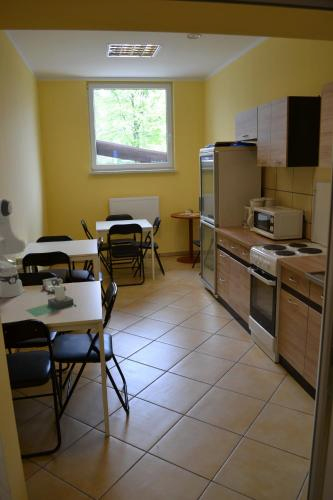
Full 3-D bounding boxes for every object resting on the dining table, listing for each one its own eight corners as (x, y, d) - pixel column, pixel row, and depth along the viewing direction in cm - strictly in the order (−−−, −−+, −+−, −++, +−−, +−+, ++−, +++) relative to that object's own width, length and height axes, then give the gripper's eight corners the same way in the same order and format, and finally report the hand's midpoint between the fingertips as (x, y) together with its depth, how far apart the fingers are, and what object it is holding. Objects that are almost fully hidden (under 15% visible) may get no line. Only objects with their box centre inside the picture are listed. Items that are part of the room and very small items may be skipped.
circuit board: (25, 311, 241) (25, 310, 240) (65, 300, 257) (65, 299, 257) (35, 318, 230) (35, 316, 229) (76, 306, 246) (76, 304, 246)
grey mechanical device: (65, 278, 274) (49, 281, 267) (67, 291, 276) (50, 295, 270) (56, 272, 288) (41, 276, 282) (58, 285, 290) (42, 289, 284)
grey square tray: (48, 304, 248) (47, 299, 247) (65, 300, 255) (64, 294, 254) (56, 309, 239) (55, 303, 239) (73, 304, 246) (73, 299, 246)
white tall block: (56, 304, 247) (53, 280, 244) (62, 302, 250) (60, 278, 247) (59, 306, 244) (56, 281, 241) (65, 304, 247) (63, 279, 243)
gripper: (-1, 267, 215) (24, 262, 224) (-13, 261, 230) (11, 256, 239) (1, 278, 216) (26, 272, 225) (-11, 271, 232) (13, 266, 240)
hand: (18, 264), depth 232 cm, fingers open, 8 cm apart
